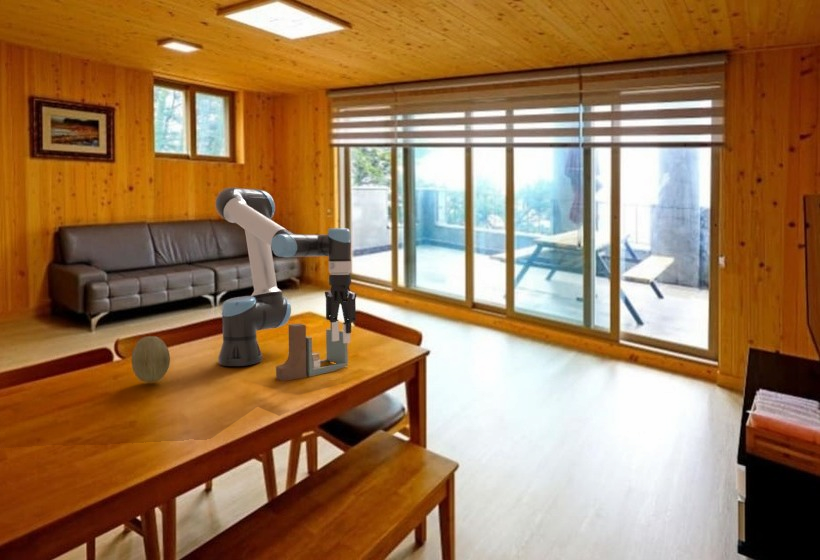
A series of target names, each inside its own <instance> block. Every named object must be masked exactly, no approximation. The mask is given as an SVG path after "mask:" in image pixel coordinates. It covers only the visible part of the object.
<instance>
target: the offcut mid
mask: <svg viewBox="0 0 820 560" xmlns="http://www.w3.org/2000/svg"><path fill="white" fill-rule="evenodd" d="M320 360H321V359H319V360H317V361H312V368H318V367H321V363H320Z"/></svg>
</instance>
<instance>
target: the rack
mask: <svg viewBox="0 0 820 560" xmlns="http://www.w3.org/2000/svg"><path fill="white" fill-rule="evenodd" d="M325 330H326V331H325V334H326V336H325V337H326V339H325V342H326V344H325V345H326V348H325V349H326V358H325V359H319V360H320V364H321V363H325V362H330V361H331V362H334V363H336V364H330V365H326V366H320V368H316V369H312V352H313V338H312V337H310V336H306V377H308V378H309V377H314V376H318V375H319V376H320V375H323V374H326V373H331V372H334V371H338V370H340V369H342V368H344V367H345V366H349V365H348V363H349V361H348V360H349V356H348V354H349V352H348V351H349V350H348V343H343V330H339V341H332V331H331V328H327V329H325Z"/></svg>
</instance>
